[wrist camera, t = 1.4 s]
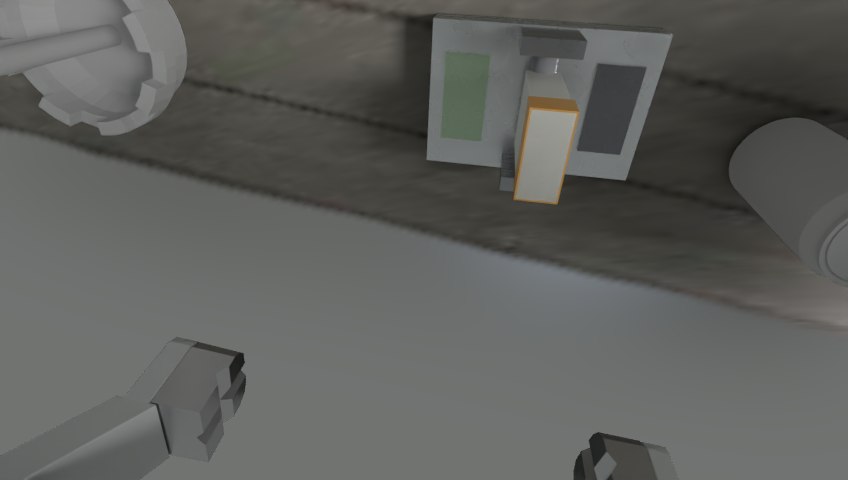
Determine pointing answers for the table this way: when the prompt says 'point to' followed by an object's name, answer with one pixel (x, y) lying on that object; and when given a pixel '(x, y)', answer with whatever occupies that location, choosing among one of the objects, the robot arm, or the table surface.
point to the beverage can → (799, 189)
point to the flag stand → (95, 58)
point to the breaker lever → (543, 133)
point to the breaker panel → (504, 79)
